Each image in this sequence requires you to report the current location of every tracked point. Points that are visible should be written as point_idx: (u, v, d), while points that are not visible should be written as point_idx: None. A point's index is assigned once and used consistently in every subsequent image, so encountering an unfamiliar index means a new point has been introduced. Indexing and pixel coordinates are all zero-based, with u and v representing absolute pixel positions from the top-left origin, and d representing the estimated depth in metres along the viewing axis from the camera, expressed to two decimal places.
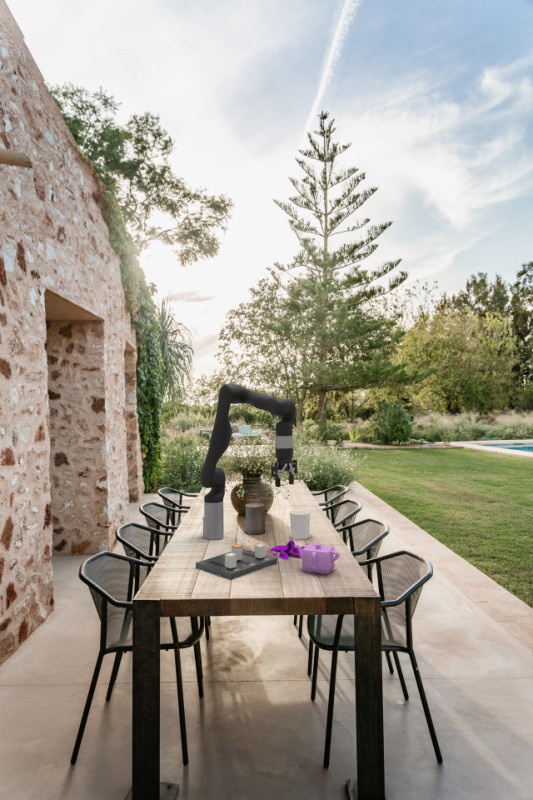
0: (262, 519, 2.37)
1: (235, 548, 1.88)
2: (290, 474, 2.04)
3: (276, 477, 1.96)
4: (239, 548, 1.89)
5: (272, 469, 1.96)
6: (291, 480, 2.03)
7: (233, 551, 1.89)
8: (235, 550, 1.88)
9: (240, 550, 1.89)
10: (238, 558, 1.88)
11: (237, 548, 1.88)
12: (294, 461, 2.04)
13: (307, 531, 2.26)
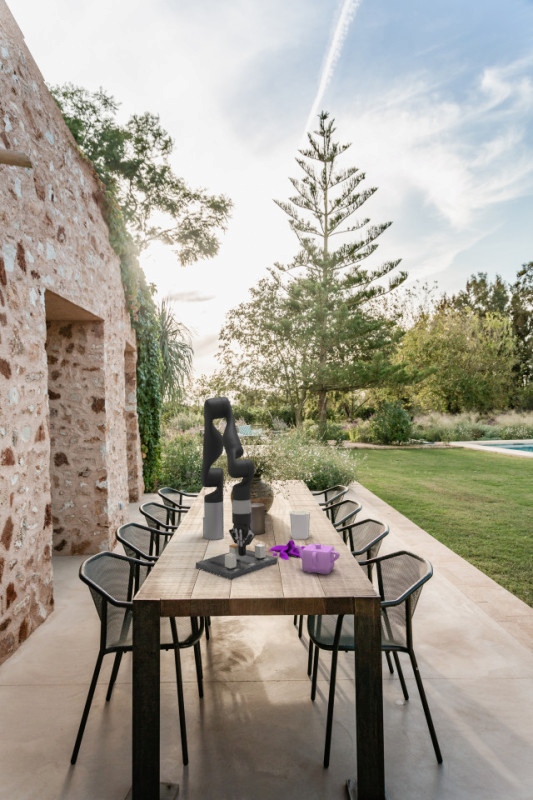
0: (262, 519, 2.37)
1: (233, 548, 1.89)
2: None
3: None
4: (237, 547, 1.89)
5: (249, 541, 1.84)
6: None
7: (231, 550, 1.90)
8: (233, 549, 1.89)
9: (237, 550, 1.90)
10: (236, 557, 1.89)
11: (235, 547, 1.89)
12: None
13: (307, 531, 2.26)
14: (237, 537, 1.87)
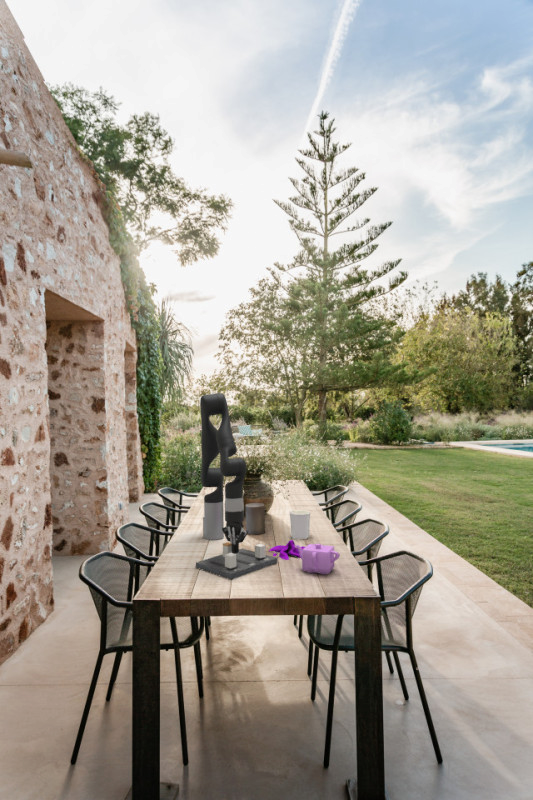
0: (262, 519, 2.37)
1: (226, 546, 1.91)
2: None
3: None
4: (230, 546, 1.92)
5: (242, 538, 1.87)
6: None
7: (224, 549, 1.92)
8: (226, 548, 1.91)
9: None
10: None
11: (228, 546, 1.91)
12: None
13: (307, 531, 2.26)
14: (230, 535, 1.90)
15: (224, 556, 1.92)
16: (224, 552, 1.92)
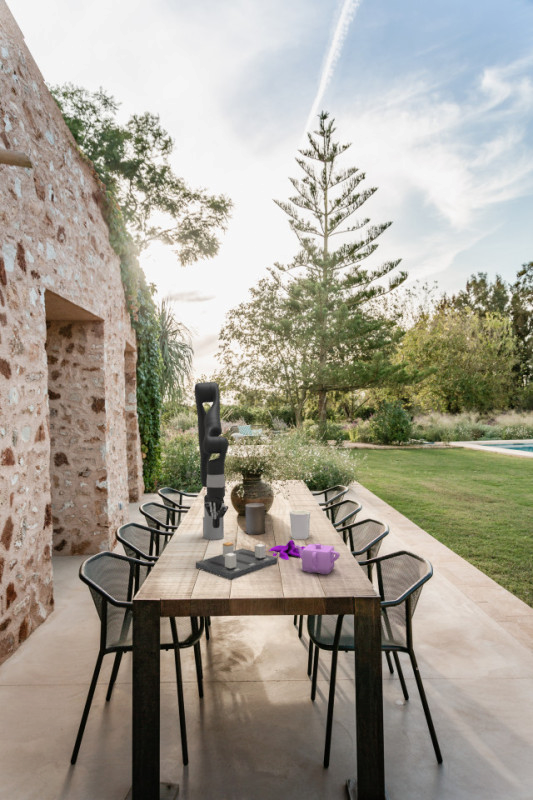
0: (262, 519, 2.37)
1: (226, 546, 1.91)
2: None
3: (220, 517, 1.97)
4: (230, 546, 1.92)
5: (222, 513, 1.94)
6: None
7: (224, 549, 1.92)
8: (226, 548, 1.91)
9: (231, 548, 1.92)
10: None
11: (228, 546, 1.91)
12: None
13: (307, 531, 2.26)
14: (211, 510, 1.97)
15: (224, 556, 1.92)
16: (224, 552, 1.92)
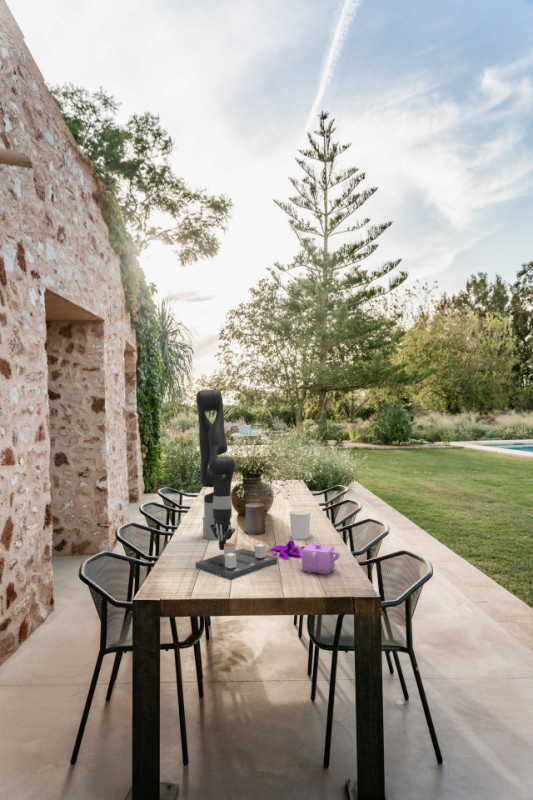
0: (262, 519, 2.37)
1: (227, 546, 1.91)
2: None
3: (226, 539, 1.94)
4: (231, 546, 1.91)
5: (229, 535, 1.92)
6: None
7: (225, 549, 1.92)
8: (227, 548, 1.91)
9: (232, 548, 1.92)
10: None
11: (229, 546, 1.91)
12: None
13: (307, 531, 2.26)
14: (218, 532, 1.94)
15: None
16: (225, 552, 1.92)
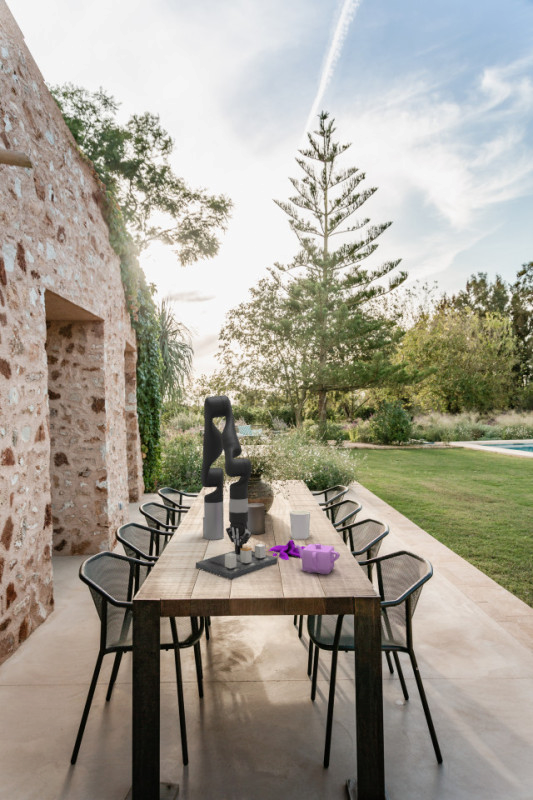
0: (262, 519, 2.37)
1: (244, 551, 1.84)
2: None
3: None
4: (248, 550, 1.85)
5: (245, 539, 1.85)
6: None
7: (242, 554, 1.85)
8: (244, 553, 1.84)
9: (249, 553, 1.85)
10: (247, 561, 1.85)
11: (246, 551, 1.84)
12: None
13: (307, 531, 2.26)
14: (234, 536, 1.88)
15: (242, 561, 1.85)
16: (242, 557, 1.85)
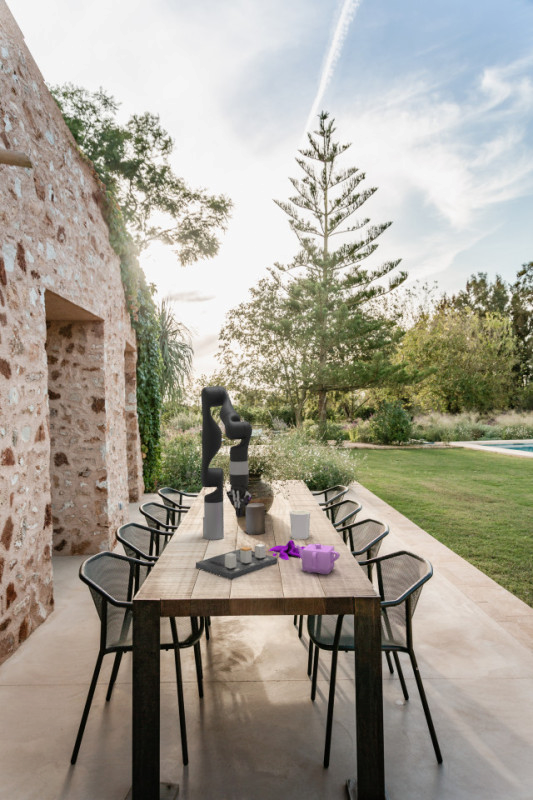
0: (262, 519, 2.37)
1: (244, 551, 1.84)
2: None
3: (243, 506, 1.88)
4: (248, 550, 1.85)
5: (246, 501, 1.85)
6: None
7: (242, 554, 1.85)
8: (244, 553, 1.84)
9: (249, 553, 1.85)
10: (247, 561, 1.85)
11: (246, 551, 1.84)
12: None
13: (307, 531, 2.26)
14: (234, 498, 1.88)
15: (242, 561, 1.85)
16: (242, 557, 1.85)
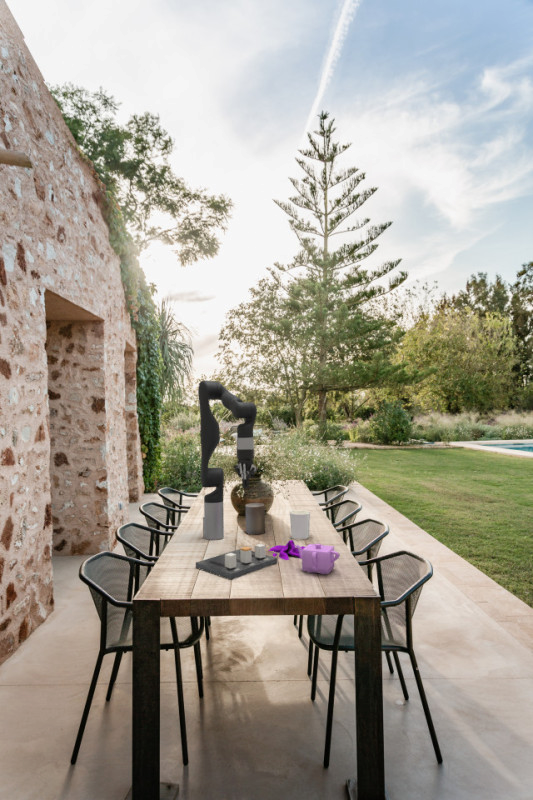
0: (262, 519, 2.37)
1: (244, 551, 1.84)
2: None
3: (249, 478, 2.10)
4: (248, 550, 1.85)
5: (252, 473, 2.07)
6: None
7: (242, 554, 1.85)
8: (244, 553, 1.84)
9: (249, 553, 1.85)
10: (247, 561, 1.85)
11: (246, 551, 1.84)
12: None
13: (307, 531, 2.26)
14: (241, 471, 2.10)
15: (242, 561, 1.85)
16: (242, 557, 1.85)
